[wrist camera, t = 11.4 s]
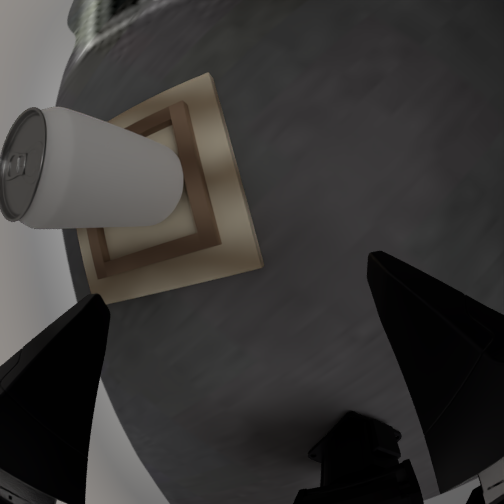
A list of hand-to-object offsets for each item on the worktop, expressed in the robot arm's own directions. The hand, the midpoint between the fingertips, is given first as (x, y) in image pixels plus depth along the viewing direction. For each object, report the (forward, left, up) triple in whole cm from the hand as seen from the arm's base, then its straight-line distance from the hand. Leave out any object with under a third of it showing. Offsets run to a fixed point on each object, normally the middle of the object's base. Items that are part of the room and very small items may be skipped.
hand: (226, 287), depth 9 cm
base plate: (-1, +12, -13) cm, 17 cm away
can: (0, +11, -11) cm, 16 cm away
